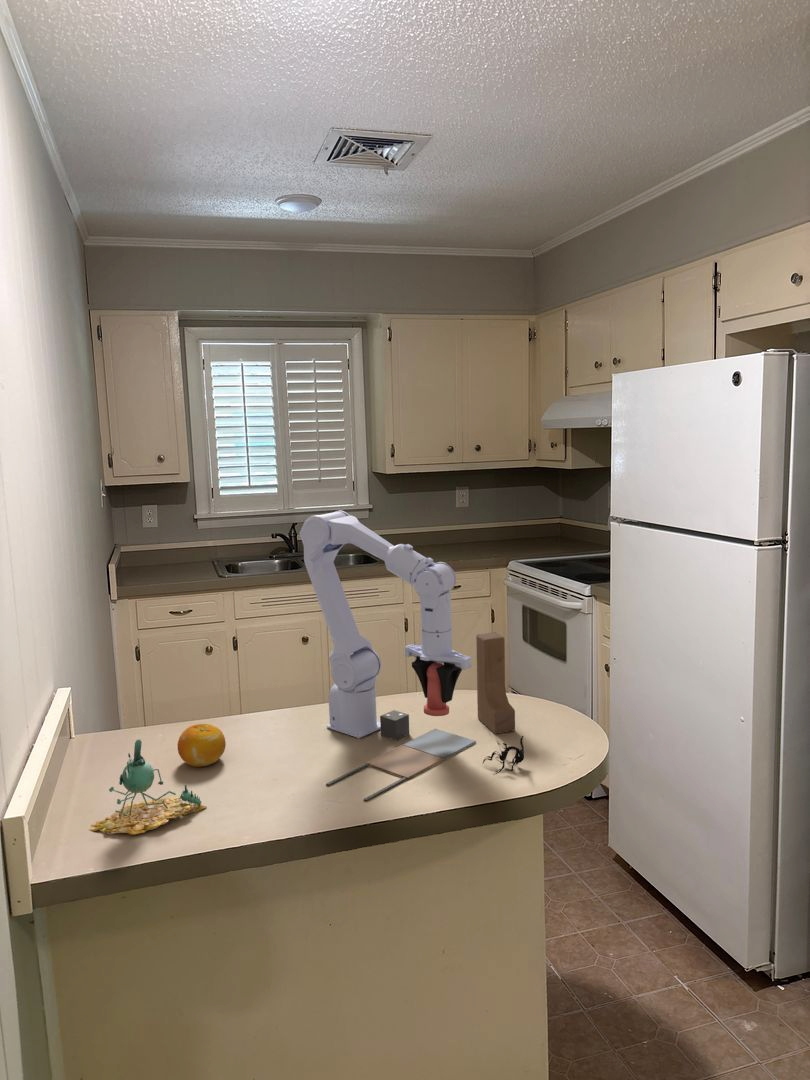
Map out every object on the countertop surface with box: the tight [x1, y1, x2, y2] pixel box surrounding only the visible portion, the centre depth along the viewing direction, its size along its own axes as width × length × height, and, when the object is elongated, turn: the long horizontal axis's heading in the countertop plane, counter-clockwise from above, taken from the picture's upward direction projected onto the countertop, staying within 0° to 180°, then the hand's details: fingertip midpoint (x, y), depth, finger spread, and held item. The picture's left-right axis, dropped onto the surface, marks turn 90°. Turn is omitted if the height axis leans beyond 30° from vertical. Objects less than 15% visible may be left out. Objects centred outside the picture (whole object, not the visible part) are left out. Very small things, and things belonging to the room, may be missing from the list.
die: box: [379, 709, 410, 741], centre depth 156 cm, size 4×4×4 cm
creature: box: [482, 735, 525, 776], centre depth 141 cm, size 8×5×8 cm
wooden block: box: [475, 632, 516, 735], centre depth 158 cm, size 9×4×18 cm, turn 17°
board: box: [325, 728, 477, 803], centre depth 144 cm, size 10×30×1 cm, turn 139°
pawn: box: [423, 662, 450, 717], centre depth 149 cm, size 5×5×10 cm
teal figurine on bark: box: [89, 739, 207, 836], centre depth 124 cm, size 10×18×15 cm, turn 100°
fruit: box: [177, 723, 227, 768], centre depth 146 cm, size 8×8×8 cm
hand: (438, 698), depth 150 cm, fingers closed on pawn, 4 cm apart
